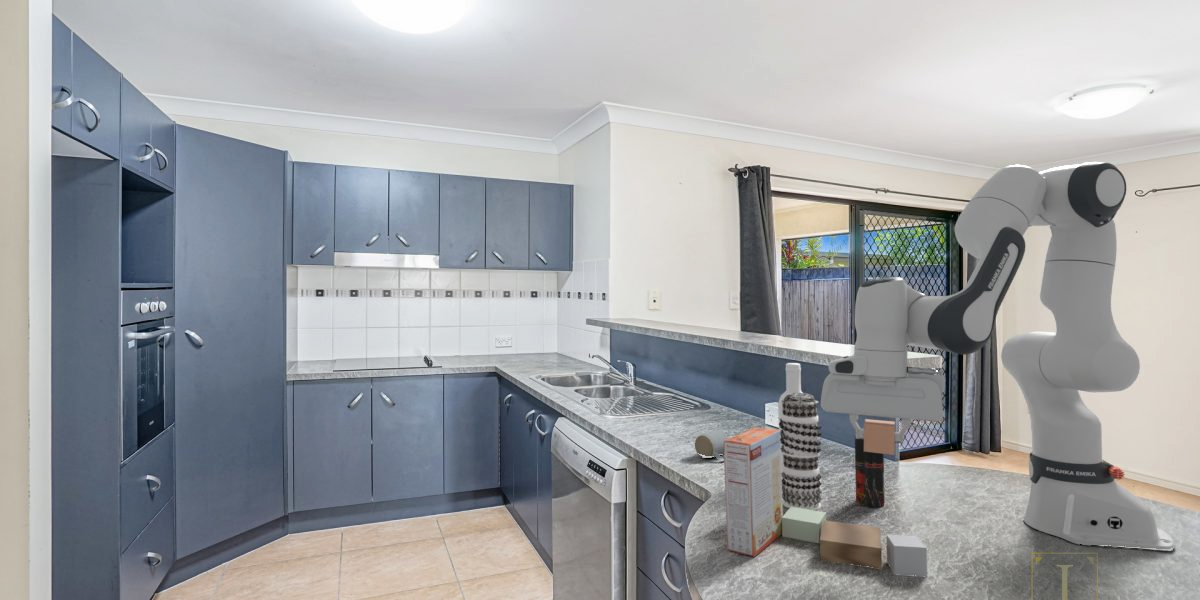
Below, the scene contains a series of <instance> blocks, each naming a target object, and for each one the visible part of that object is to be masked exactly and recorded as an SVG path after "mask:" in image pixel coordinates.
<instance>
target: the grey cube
mask: <svg viewBox="0 0 1200 600" xmlns="http://www.w3.org/2000/svg"><path fill="white" fill-rule="evenodd" d="M885 538H886V563H887V562H888V563H887V565H888V564H889V565H890V566H889V565H888V566H889V567H891V568H890V570H891V571H892V570H893V571H892V573H893V572H894V573H893V574H894V575H895V574H900V575H899V576H904V575H914V576H913V577H918V576H926V577H925V578H927V577H928V566H927V565H928V562H927V560H928V559H927V558H928V557H927V555H928V554H927V552H928V551H927V547H926V546H925V544H924V542H922V540H921V539H920V537H918V536H916V535H908V534H907V535H903V534H890V533H889V534H888V533H887V534H886V537H885ZM915 575H916V576H915Z"/></svg>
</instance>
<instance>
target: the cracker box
mask: <svg viewBox="0 0 1200 600" xmlns="http://www.w3.org/2000/svg"><path fill="white" fill-rule="evenodd" d="M723 457H724V461H723V462H724V486H725V487H724V490H725V491H724V492H725V519H726V521H725V522H726V548H727V551H729V552H733V553H737V554H741V555H744V556H748V555H749V557H752V556H753V557H754V558H755V557H756V556H757V555H759V554H760V553H761V552H762V551H763V550H765V548H767V547H768V546H769V545H771V544H772V543H773V542H774V541H775V540H777V539H778V538H780V536H781V535H782V517H783V516H784V512H783V511H784V510H783V509H784V508H783V506H784V505H783V503H782V500H783V498H782V493H783V492H782V486H783V483H782V477H781V445H780V430H779V429H773V428H771V429H770V428H765V427H758V426H757V427H756V426H755V427H753V428H750V429H748V430H746V431H744V432H741V433H739V434H737V435H735V436H732V437H730V438H728V439H727V440H725V441H724V455H723Z"/></svg>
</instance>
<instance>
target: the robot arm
mask: <svg viewBox="0 0 1200 600" xmlns="http://www.w3.org/2000/svg"><path fill="white" fill-rule="evenodd" d="M1124 176H1125V175H1123V173H1122V172H1121V171H1120V170H1119V168H1118V167H1117V166H1115V165H1114V164H1113V163H1109V162H1103V161H1102V162H1101V161H1093V162H1091V161H1090V162H1089V161H1088V162H1084V163H1081V164H1072V165H1063V166H1058V167H1053V168H1049V169H1047V170H1042V171H1038V170H1036V169H1035V168H1033V167H1031V166H1027V165H1022V164H1021V165H1020V164H1015V165H1009V166H1004V167H1002V168H1001V169H999V170H998V171H996V172H995V173H994V174H993V175H992V176H991V177H990V178H989V179H988V180H987V181H986V182H985V183H983V184H982V186H981V187H980V188H979V189H978V190H977V192H976V193H975V194H974V195H973V196H972V197H971V199H970V200H969V202H968V203H967V204H966V206H965V207H964V208H963V210H962V211H961V213H960V214H959V216H958V218H957V220H956V223H955V225H954V235H955V238H956V241H957V243H958V244H959V245H960V247H961V248H962V249H964V251H965V252H967V253H968V254H969V255H971V256H972V257H973V258H975V259H978V260H979V261H978V262H977V264H976V266H975V268H974V270H973V272H972V274H971V275H970V277H969V279H968V281H967V283H966V285H965V287H964V288H963V289H962V290H960V291H958V292H955V293H953V294H949V295H943V296H942V295H937V296H936V295H933V296H931V295H926V294H925V293H922V292H919V291H918V290H915V289H914V288H912V287H911V286H910V285H909V284H908V283H906V281H905V279H904V278H903V277H900V276H885V277H878V278H873V279H868V280H865V281H863V282H862V283H861V284H860V286H859V287H858V289H857V294H856V299H855V305H854V306H855V308H854V327H855V330H856V339H855V340H856V341H855V343H854V346H853V347H854V350H853V352H854V353H853V355H846V356H842V357H840V358H836V359H833V360H831V361H830V362H829V363H828V371H829V374H828V375H827V376H826V377H825V378H824V381H823V384H822V389H821V390H822V391H821V395H820V397H821V398H820V407H821V409H822V410H823V411H824V412H826V413H837V414H846V415H847V414H848V415H849V417H848V418H849V421H850V424H851V425H852V427H853V428H854V429H855V435H856V439H864V427H863V428H861V427H860V425H859V423H858V420H859V415H860V416H869V417H881V418H891V419H901V425H903V426H902V427H901V429H900V430H899V431H895V444H903V445H904V435H905V434H906V433H907V431H908V430H909V428H910V427H911V422H912V421H913V420H914V421H915V420H916V421H924V422H925V421H926V422H933V423H935V422H936V423H937V422H939V421H941V420H943V419H942V418H943V417H944V407H943V400H942V394H943V393H944V391H945V390H946V377H945V375H944V373H943V372H941V371H938V370H936V368H931V367H928V368H927V367H926V368H923V367H919V366H918V367H915V366H908V346H910V347H917V348H924V349H931V350H939V351H944V352H949V353H953V354H957V355H961V356H962V355H963V356H965V355H970V354H974V353H976V352H978V351H979V350H981V349H982V348H983V347H984V346H985V345H986V344H987V343H988V342H989V340H990V338H991V337H992V334H993V331H994V329H995V324H996V320H997V315H998V312H999V311H1000V308H1001V305H1002V304H1003V301H1004V299H1005V297H1006V295H1007V292H1009V289H1010V287H1011V284H1013V280H1014V279H1015V277H1016V274H1017V272H1018V271H1019V268H1020V266H1021V264H1022V261H1023V259H1024V256H1025V252H1026V241H1025V238H1024V235H1025V233H1026V231H1027V230H1028V229H1029V227H1033V226H1035V227H1036V226H1037V227H1038V226H1039V227H1040V226H1041V227H1042V226H1043V227H1045V226H1049V229H1050V232H1051V237H1050V240H1049V243H1048V247H1047V251H1046V255H1045V260H1044V268H1043V273H1042V280H1041V285H1040V293H1039V297H1040V299H1039V300H1040V302H1041V304H1042V305H1043V306H1044V307H1045V308H1047V309H1048V310H1049V311H1051V314H1052V315H1053V317H1054V321H1055V327H1056V331H1055V332H1053V331H1029V332H1023V333H1019V334H1015V335H1013V336H1011V337H1010V338H1008V339H1007V340H1006V341H1005V342H1004V345H1003V346H1002V349H1001V352H1000V353H1001V355H1000V358H1001V362H1002V365H1003V368H1004V369H1005V370H1006V371H1007V372H1008V373H1009V374H1010V375H1011V376H1012V377H1013V379H1015V381H1016V383H1017V384H1018V386H1019V387H1020V390H1021V392H1022V395H1023V397H1024V399H1025V403H1026V405H1027V409H1028V413H1029V418H1030V430H1031V431H1030V432H1031V452H1029V458H1028V472H1029V473H1028V475H1029V479H1030V482H1031V483H1030V490H1029V498H1028V504H1027V507H1026V510H1025V514H1024V516H1023V521H1024V522H1025V524H1027V525H1028V526H1030V527H1031V528H1033V529H1035V530H1038V531H1040V532H1041V533H1042V532H1043V533H1045V534H1048V535H1052V536H1056V537H1058V538H1061V539H1064V540H1066V541H1067V542H1070V543H1072V544H1075V545H1080V544H1082V546H1091V545H1108V546H1109V545H1111V546H1124V547H1125V546H1126V547H1140V548H1156V549H1171V548H1173V547H1174V548H1175V542H1174V540H1173V537H1171V536H1170V535H1169V534H1168V533H1167V532H1166V531H1164V530H1162V529H1161V528H1160V527H1158V526H1157V521H1156V518H1155V516H1154V512H1153V511H1152V509H1151V507H1149V505H1148V504H1146V502H1145V501H1143V500H1142V499H1140V497H1138V496H1137V495H1135V494H1134V493H1132V491H1130V490H1128V489H1127V488H1125V487H1124V486H1123V485H1121V484H1120V483H1118V482H1116V481H1115V480H1122V479H1123V478H1125V475H1126V474H1125V472H1124V470H1123V469H1121V468H1120V467H1118V466H1114V465H1113V464H1112V463H1109V462H1108V461H1106V460H1104V459H1103V451H1102V450H1103V447H1102V446H1103V444H1102V443H1103V442H1102V434H1103V433H1102V423H1101V421H1100V418H1099V417H1098V416H1097V414H1096V413H1094V412H1093V411H1092V410H1090V408H1088V407H1087V405H1086V404H1085V402H1084V401H1083V399H1082V397H1081V394H1080V392H1079V391H1082V392H1086V393H1114V392H1115V393H1116V392H1122V391H1125V390H1127V389H1128V388H1130V387H1131V386H1132V385H1133V384H1134V383H1135V382H1136V380H1137V378H1138V377H1139V374H1140V370H1141V363H1140V358H1139V356H1138V353H1137V352H1136V350H1135V349H1134V347H1133V346H1131V345H1130V343H1128V342H1127V341H1126V340H1124V338H1123V337H1122V335H1121V333H1120V332H1119V330H1118V329H1117V326H1116V324H1115V321H1114V317H1113V312H1112V295H1113V294H1112V293H1113V286H1114V285H1113V284H1114V276H1115V270H1116V263H1117V262H1116V261H1117V232H1116V231H1117V230H1116V224H1115V220H1114V218H1115V216H1116V215H1117V212H1118V211H1119V210H1120V208H1121V206H1122V205H1123V202H1124V200H1125V197H1126V194H1127V182H1126V178H1125V177H1124ZM911 420H912V421H911Z"/></svg>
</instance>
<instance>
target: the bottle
mask: <svg viewBox="0 0 1200 600" xmlns="http://www.w3.org/2000/svg"><path fill="white" fill-rule="evenodd" d="M801 371H802V367H801V364H800V363H798V362H787V363H785V387H786V388H785V389H786V390H785V391H784V392H783V393H781V395H780V397H779V401H778V405H777V410H778V411H777V412H778V415H777V416H778V424H779V423H780V419H781V420H782V413H783V407H782V405H783V404H782V401H781V400H783V399H784V398H785V396H786V395H787V394H790V393H804V392H803V391H802V383H801V382H802V379H801V378H802V376H801V375H802V373H801ZM778 430H780V431H781V430H782V428H780V426H779V425H778ZM780 438H781V435H780ZM780 445H781V447H782V445H784V444H781V441H780ZM783 464H784V459H783V454H782V452H781V473H782V472H783ZM781 477H782V475H781ZM782 479H783V477H782Z"/></svg>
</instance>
